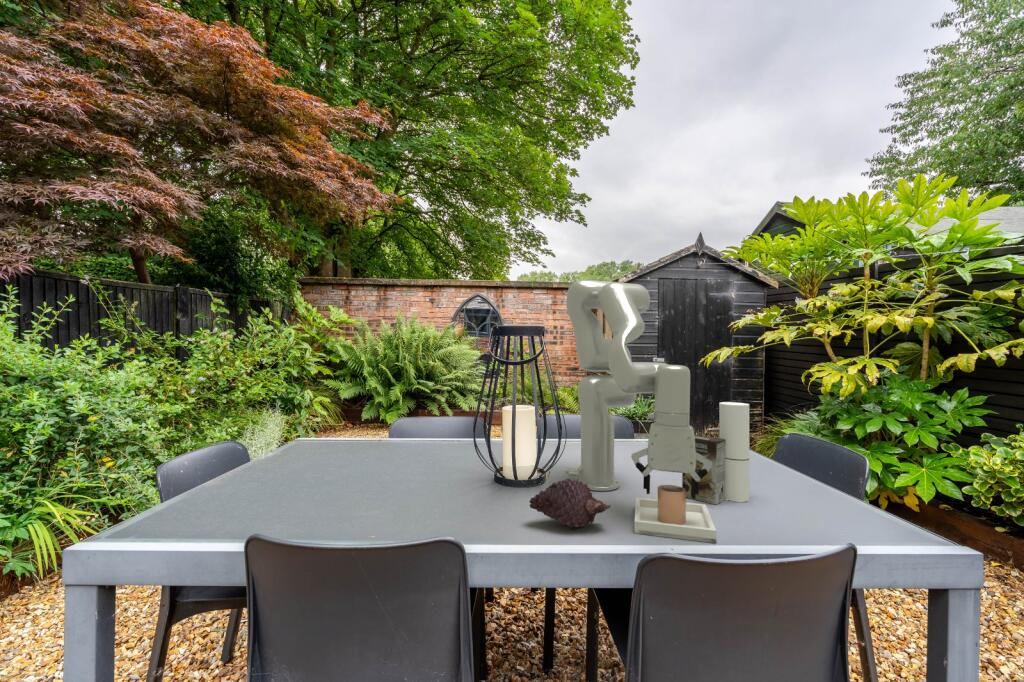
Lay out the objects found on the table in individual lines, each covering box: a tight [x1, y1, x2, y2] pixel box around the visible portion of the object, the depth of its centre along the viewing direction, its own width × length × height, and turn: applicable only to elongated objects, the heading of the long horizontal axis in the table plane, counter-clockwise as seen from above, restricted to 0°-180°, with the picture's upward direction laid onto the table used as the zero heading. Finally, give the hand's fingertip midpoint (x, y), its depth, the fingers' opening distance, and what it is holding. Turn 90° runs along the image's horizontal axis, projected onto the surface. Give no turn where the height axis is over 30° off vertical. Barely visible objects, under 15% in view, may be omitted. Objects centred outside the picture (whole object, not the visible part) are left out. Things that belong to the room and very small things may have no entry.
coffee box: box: [681, 433, 725, 506], centre depth 117 cm, size 9×6×16 cm
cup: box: [657, 484, 687, 525], centre depth 99 cm, size 6×6×7 cm
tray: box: [634, 497, 717, 544], centre depth 99 cm, size 16×16×2 cm
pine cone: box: [528, 478, 612, 528], centre depth 98 cm, size 18×10×10 cm, turn 83°
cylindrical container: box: [718, 401, 750, 503], centre depth 118 cm, size 7×7×25 cm
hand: (670, 494), depth 100 cm, fingers open, 9 cm apart
